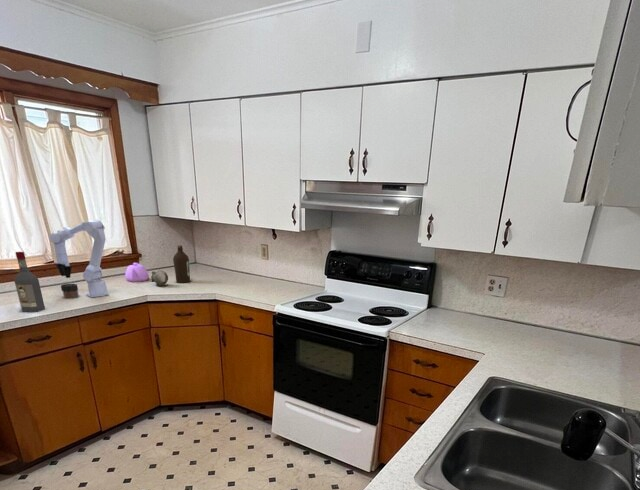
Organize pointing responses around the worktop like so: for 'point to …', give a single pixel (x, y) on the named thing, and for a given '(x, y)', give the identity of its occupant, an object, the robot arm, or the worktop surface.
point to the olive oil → (181, 266)
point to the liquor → (28, 287)
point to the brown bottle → (71, 294)
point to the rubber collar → (69, 287)
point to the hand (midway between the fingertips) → (65, 276)
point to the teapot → (136, 273)
